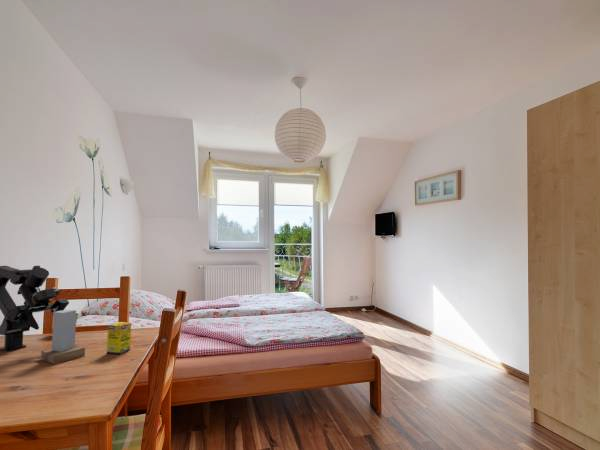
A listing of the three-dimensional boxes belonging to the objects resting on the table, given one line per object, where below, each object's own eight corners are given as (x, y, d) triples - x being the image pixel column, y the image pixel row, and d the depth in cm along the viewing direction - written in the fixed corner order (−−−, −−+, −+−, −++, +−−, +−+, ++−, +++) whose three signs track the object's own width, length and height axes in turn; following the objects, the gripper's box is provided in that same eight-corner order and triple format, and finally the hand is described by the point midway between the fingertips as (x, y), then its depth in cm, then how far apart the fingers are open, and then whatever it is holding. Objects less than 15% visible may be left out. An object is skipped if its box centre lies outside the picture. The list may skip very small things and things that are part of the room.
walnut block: (40, 359, 121) (41, 350, 121) (70, 351, 130) (70, 343, 130) (54, 364, 116) (55, 355, 117) (84, 355, 125) (85, 347, 125)
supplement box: (119, 354, 126) (120, 325, 127) (106, 353, 127) (107, 325, 128) (130, 350, 132) (131, 322, 133) (117, 349, 133) (118, 321, 134)
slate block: (51, 350, 122) (53, 312, 123) (65, 346, 127) (66, 309, 127) (61, 351, 120) (63, 312, 121) (74, 347, 125) (76, 310, 126)
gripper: (16, 284, 120) (35, 317, 116) (67, 278, 138) (85, 307, 134) (1, 304, 122) (19, 337, 118) (53, 296, 140) (70, 325, 136)
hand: (50, 326), depth 126 cm, fingers open, 9 cm apart
